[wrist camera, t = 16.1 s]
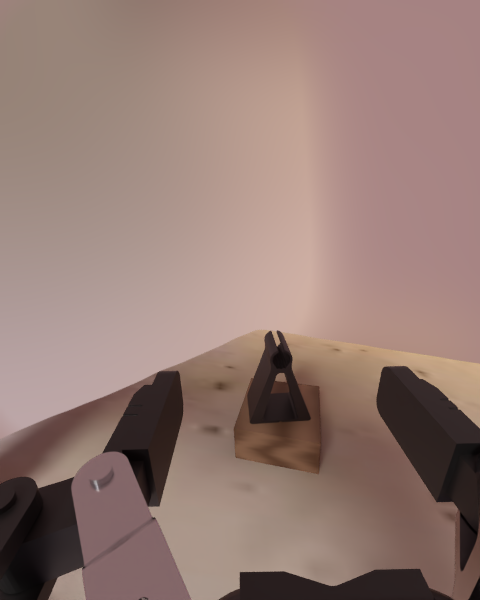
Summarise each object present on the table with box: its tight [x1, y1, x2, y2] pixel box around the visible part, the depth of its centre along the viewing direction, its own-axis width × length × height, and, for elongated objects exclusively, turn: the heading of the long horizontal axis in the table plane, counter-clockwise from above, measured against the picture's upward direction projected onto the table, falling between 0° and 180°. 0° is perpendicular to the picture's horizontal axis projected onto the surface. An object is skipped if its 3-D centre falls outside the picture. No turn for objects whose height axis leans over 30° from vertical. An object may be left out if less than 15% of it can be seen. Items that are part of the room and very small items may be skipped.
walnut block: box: [234, 378, 321, 474], centre depth 44 cm, size 12×12×6 cm
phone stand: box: [247, 331, 311, 424], centre depth 40 cm, size 9×6×12 cm, turn 92°
